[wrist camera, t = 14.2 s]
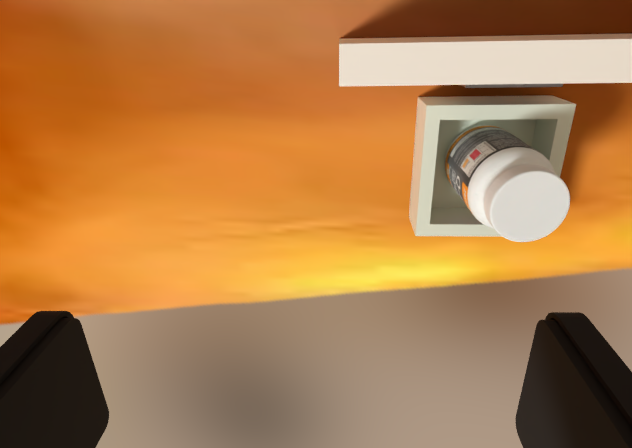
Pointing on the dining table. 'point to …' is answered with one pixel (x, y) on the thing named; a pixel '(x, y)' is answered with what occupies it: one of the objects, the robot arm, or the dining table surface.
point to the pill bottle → (506, 183)
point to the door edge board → (486, 60)
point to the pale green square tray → (454, 118)
